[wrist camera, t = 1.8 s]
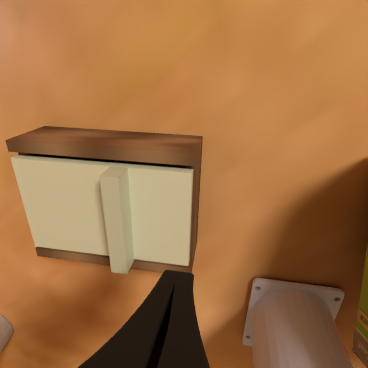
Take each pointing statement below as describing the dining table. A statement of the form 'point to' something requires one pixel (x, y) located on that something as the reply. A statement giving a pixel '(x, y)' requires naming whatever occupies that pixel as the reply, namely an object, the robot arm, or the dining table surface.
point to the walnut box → (117, 153)
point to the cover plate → (108, 208)
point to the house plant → (4, 332)
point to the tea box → (362, 319)
